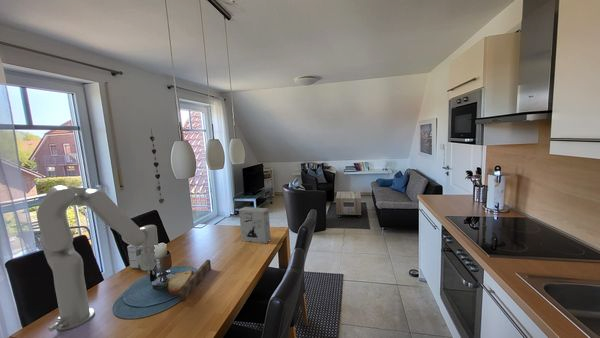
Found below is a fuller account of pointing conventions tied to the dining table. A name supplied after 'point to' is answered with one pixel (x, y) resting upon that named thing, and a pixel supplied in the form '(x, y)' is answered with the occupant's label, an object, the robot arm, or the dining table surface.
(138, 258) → the syrup box
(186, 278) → the bread slice
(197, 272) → the walnut board
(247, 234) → the cereal box
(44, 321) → the dining table surface
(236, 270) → the dining table surface
